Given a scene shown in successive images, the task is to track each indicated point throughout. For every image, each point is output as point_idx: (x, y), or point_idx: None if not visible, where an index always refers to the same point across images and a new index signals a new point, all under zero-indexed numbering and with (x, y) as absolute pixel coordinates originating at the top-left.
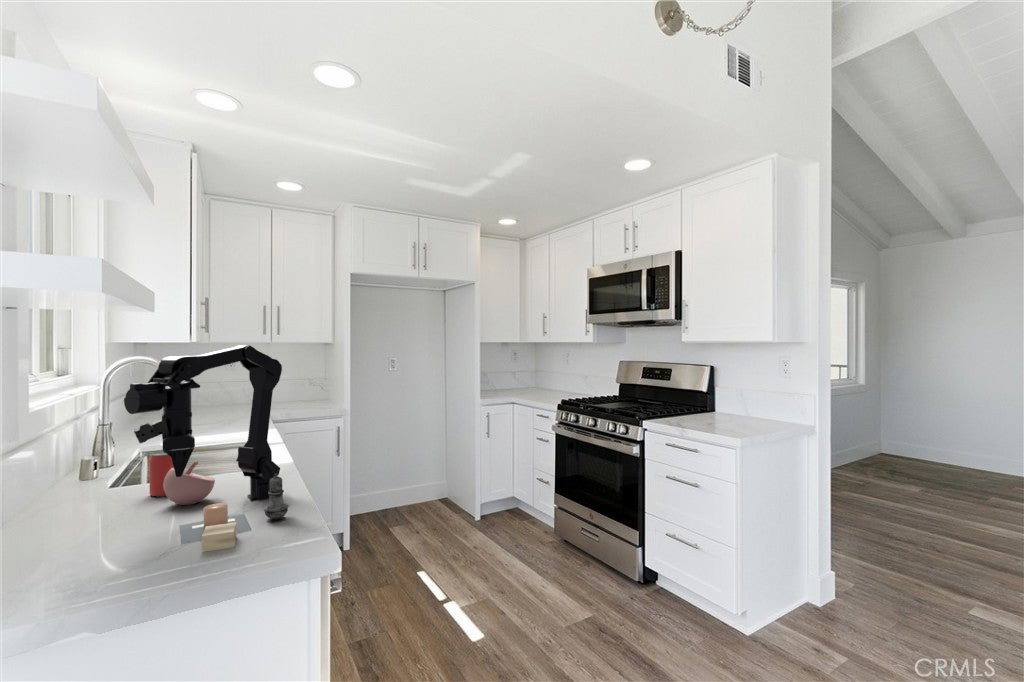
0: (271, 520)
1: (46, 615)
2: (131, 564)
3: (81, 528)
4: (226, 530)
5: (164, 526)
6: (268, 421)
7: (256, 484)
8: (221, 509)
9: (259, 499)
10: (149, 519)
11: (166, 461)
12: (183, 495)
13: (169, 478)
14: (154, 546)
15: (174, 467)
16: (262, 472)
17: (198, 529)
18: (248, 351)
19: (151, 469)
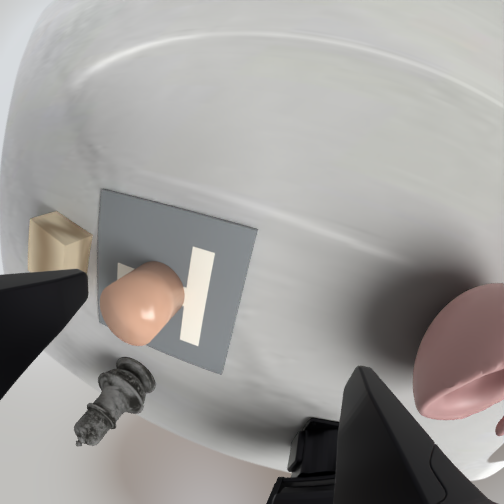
0: (132, 371)
1: (38, 29)
2: (87, 94)
3: (467, 51)
4: (34, 264)
5: (305, 199)
6: None
7: (305, 460)
8: (104, 314)
9: (300, 431)
10: (421, 192)
11: None
12: (437, 320)
13: None
14: (145, 138)
15: (13, 277)
16: (272, 491)
17: (174, 255)
18: None
19: None
